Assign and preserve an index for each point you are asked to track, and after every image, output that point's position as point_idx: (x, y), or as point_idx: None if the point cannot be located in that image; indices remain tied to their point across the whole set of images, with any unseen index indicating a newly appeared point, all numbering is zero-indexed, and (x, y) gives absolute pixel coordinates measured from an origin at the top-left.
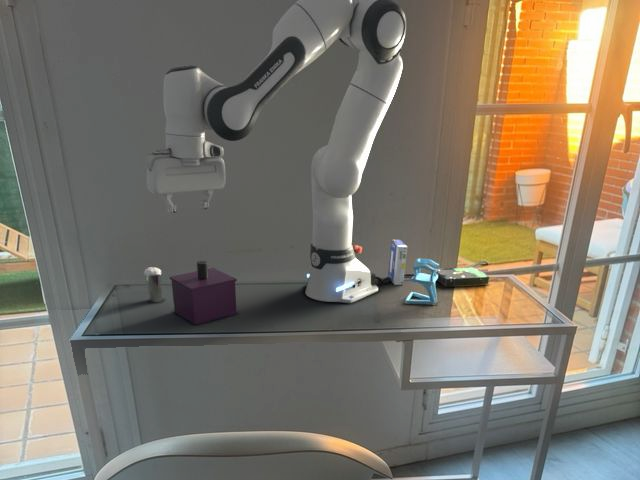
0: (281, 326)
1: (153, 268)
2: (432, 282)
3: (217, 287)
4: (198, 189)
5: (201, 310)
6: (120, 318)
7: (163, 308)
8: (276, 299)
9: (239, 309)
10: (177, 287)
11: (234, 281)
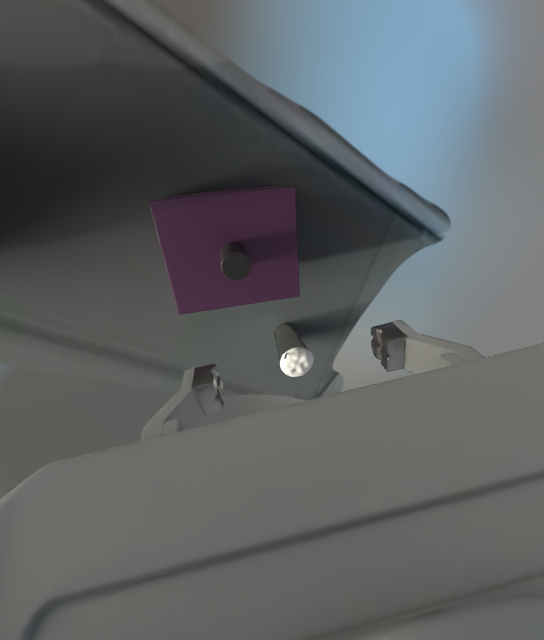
0: (78, 41)
1: (297, 365)
2: None
3: None
4: (268, 412)
5: (259, 188)
6: (365, 282)
7: None
8: (37, 235)
9: (151, 219)
10: None
11: (157, 200)
